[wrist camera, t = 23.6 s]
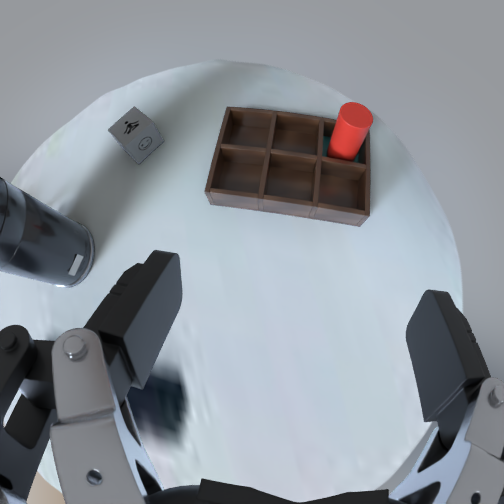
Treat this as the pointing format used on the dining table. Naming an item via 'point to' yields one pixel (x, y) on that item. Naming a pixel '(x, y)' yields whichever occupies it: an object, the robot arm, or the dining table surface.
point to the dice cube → (136, 134)
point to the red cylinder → (349, 131)
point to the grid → (287, 168)
